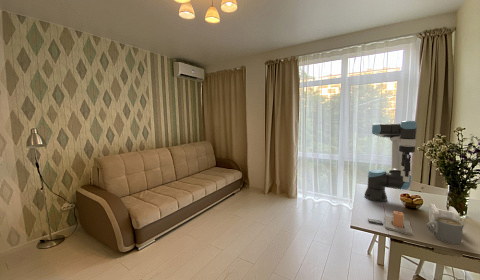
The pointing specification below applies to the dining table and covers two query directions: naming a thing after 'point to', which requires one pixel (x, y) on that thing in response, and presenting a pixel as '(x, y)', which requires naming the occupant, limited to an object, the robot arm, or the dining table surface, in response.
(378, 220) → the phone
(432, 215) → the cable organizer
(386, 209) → the dining table surface
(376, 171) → the robot arm
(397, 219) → the block
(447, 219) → the coffee mug
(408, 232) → the outlet plate
